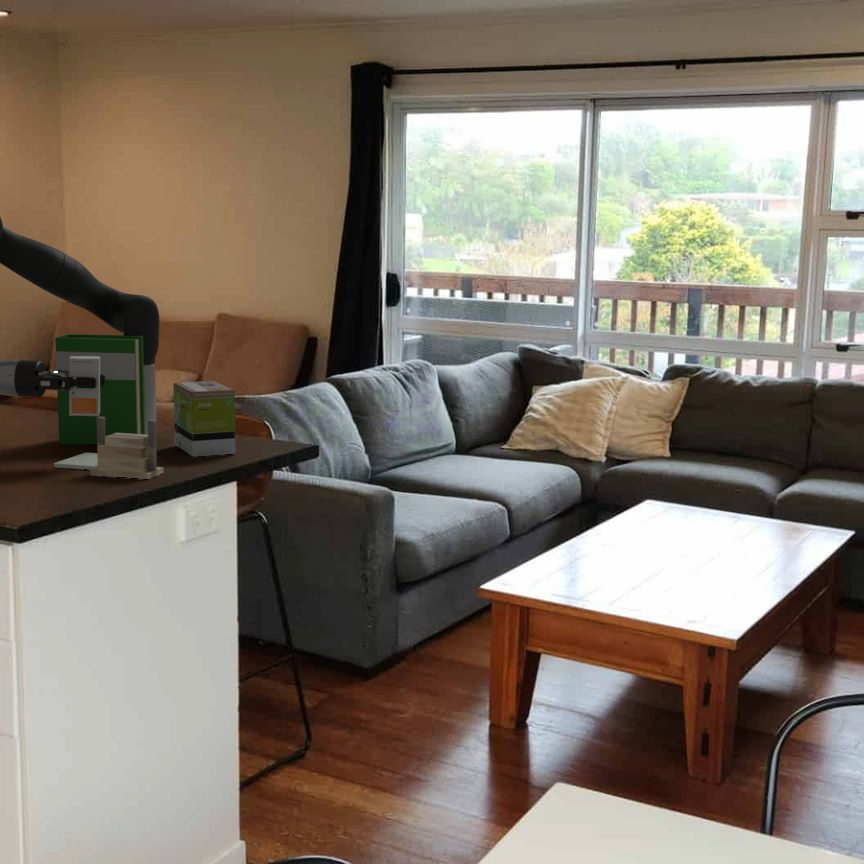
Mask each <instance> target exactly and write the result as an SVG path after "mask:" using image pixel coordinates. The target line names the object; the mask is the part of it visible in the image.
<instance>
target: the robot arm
mask: <svg viewBox="0 0 864 864" xmlns="http://www.w3.org/2000/svg"><path fill="white" fill-rule="evenodd" d="M0 265H2V266H4V267H6V268H7V269H9V270H10V271H11V272H13V273H15V274H16V275H18V276H19V277H22V278H23V279H25V280H27V281H28V282H30V283H31V284H33V285H35V286H37V287H38V288H39V289H42V290H44V291H46V292H47V293H49V294H52V295H53V296H55V297H57V298H59V299H61V300H64V301H66V302H67V303H70V304H73V305H74V306H77V307H79V308H81V309H84V310H86V311H88V312H89V313H91V314H92V315H94V316H96V318H98V319H100V320H101V321H102V322H104V323H105V324H107V325H108V326H109V327H111V328H112V329H114V330H115V331H118V332H119V333H122V334H123V335H124V336H143V361H144V404H145V435H148V421H149V420H156V421H157V395H156V394H157V393H156V392H157V391H156V390H157V389H156V387H157V386H156V357H157V354H158V351H159V347H160V346H159V344H160V313H159V312H160V311H159V309H158V306H157V304H156V302H155V301H154V299H152V298H151V297H149V296H147V295H142V294H131V293H128V292H127V293H126V292H123V291H120V290H118V289H116V288H114V287H112V286H108V285H107V284H105V283H103V282H101V281H100V280H99V279H98V278H97V277H95V276H94V274H92V272H91V271H89V269H88V268H87V267H85V266H84V265H83V264H82V263H81V262H80V261H78V260H77V259H75V258H74V257H72V256H70V255H68V254H67V253H65V252H63V251H61V250H60V249H58V248H55V247H53V246H51V245H48V244H46V243H43V242H41V241H38V240H35V239H32V238H29V237H26V236H24V235H21V234H18V233H15V232H14V231H12V230H10V229H8V228H7V227H5V226H4V225H3V220H2V217H1V216H0ZM105 383H106V376H105V375H104V374H100V385H105ZM77 387H78V388H90V389H94V388H96V387H97V379H96V378H94V377H78V379H77V376H69V370H61V369H56V368H54V369H53V370H48V369H47V365H46V364H45V363H44V362H43V361H42V360H32V359H31V360H29V359H0V396H1V395H3V396H8V397H9V396H10V397H25V398H26V397H29V398H30V397H31V398H41V397H43V396H44V394H45V392H46V391H47V390H48V391H57V390H71V389H77Z"/></svg>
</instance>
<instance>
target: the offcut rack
mask: <svg viewBox="0 0 864 864" xmlns="http://www.w3.org/2000/svg"><path fill="white" fill-rule="evenodd" d="M96 446H97V447H96V449H97V452H96V453H97V460H98V467H96V468H93V469H90V470H89V476H90V475H91V477H93V476H95V477H103V476H105V477H107V478H116V477H127V478H126V479H130V478H138V479H137V480H143V479H149V480H151V479H153V477H154V478H155V476H156V477H158V476H161V475H163V474H164V472H165V470H164V469H165V468H164V467H163V466H162V467H161V466H157V465H158V463H157V460H158V459H157V455H158V453H157V419H156V420H149V421H148V435H143V434H128V433H114V434H111V435H108V436H105V417H97V445H96ZM162 473H163V474H162ZM160 474H161V475H160ZM150 478H151V479H150Z"/></svg>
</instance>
